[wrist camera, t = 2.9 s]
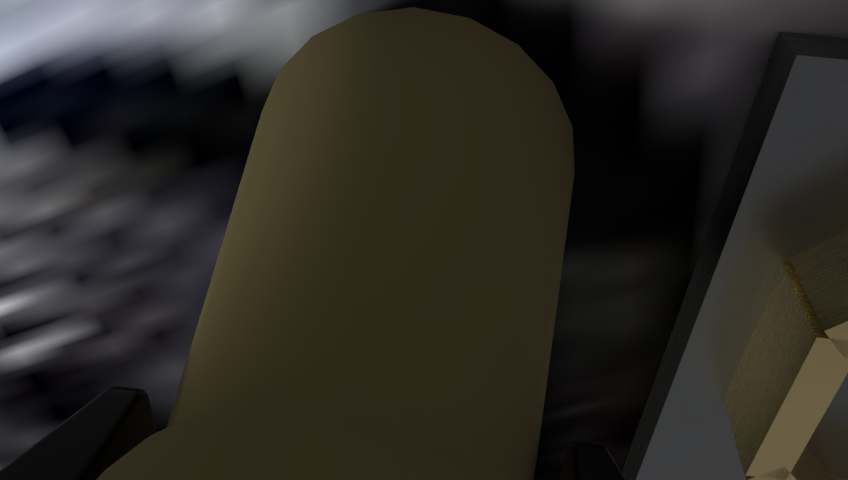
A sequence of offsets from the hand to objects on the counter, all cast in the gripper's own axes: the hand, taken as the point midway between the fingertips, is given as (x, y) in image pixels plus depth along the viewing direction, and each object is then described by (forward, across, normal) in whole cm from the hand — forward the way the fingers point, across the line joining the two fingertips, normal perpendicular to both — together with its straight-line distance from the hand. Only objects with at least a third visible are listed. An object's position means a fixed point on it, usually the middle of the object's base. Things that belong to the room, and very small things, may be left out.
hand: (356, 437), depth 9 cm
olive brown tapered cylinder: (+7, 0, 0) cm, 7 cm away
